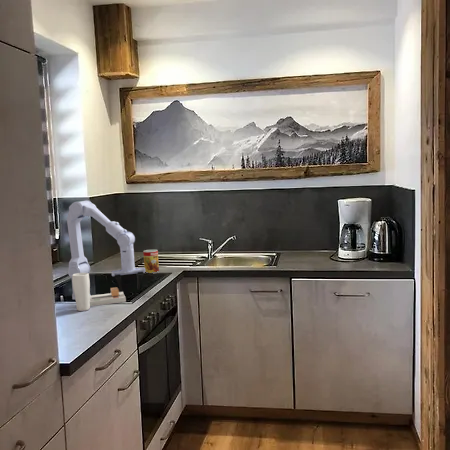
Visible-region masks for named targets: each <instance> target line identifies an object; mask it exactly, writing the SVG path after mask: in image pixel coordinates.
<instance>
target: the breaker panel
mask: <svg viewBox="0 0 450 450" xmlns="http://www.w3.org/2000/svg"><path fill="white" fill-rule="evenodd" d="M117 303H118V304H119V303H127V298H126V296H125V294H124V291H122V292H120V291H119V296H112V295H111V292H110V293H109V292H108V293H104V294H92V295H91V296H90V307H95V306H102V305H109V304H110V305H111V304H117Z"/></svg>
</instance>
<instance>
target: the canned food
mask: <svg viewBox="0 0 450 450" xmlns="http://www.w3.org/2000/svg"><path fill="white" fill-rule="evenodd" d="M142 252H143V266H144V267H143V268H145V272H148V273H152V272H157V271H159V272H160V266H159V265H160V264H159V251H158V249H146V250H145V249H144V250H143V251H142Z"/></svg>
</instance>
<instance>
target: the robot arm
mask: <svg viewBox="0 0 450 450" xmlns="http://www.w3.org/2000/svg"><path fill="white" fill-rule="evenodd" d="M85 217H92V218H93V219H94V220H95V221H97V222H98V223H99V224H101V225H102V226H103V227H105V232H107V234H109V235H110V236H111V237H113V238H114V239H115V240H116V243H117V244H118V246H119V250H120V264H121V269H117V270H112V271H111V276H112V277H114V278H115V280H116V283H117V285H118V287H119V288H118V289H119V292H123V287H122V276H124V275H133V274H136V281H137V286H136V287H137V290H138V291H139V290H141V284H142V283H141V282H142V280H143V278H144V274H146V273H145V268H144V267H136V266H135V250H134V244H135V242H136V237H135V234H134V233H133V232H131V231H128V230H127V229H125V228H123V226H121V225H120V223H119V222H118V221H115V220H114V221H111V219H109V218H108V217H107V216H106V215H105V214H104V213H102V212H101V210H100V209H99V208H97V205H96V204H94V203H92V202H91V200H89V199H85V200H81V201H74V202H72V203H71V204H70V205H69V206H68V214H67V217H66V223H67V232H68V239H69V247H70V253H71V255H70V256H71V258H70V260H69V262H68V269H67V274H68V276H69V277H70V279H71V286H72V287H71V288H72V294H71V297H72V298H71V299H72V300H73V301H74V300H75V294H74V289H73V281H72V275H73V274H76V273H89V274H90V272H91V266H90V264H89V262H88V258H87V257H86V256H85V254H84V244H83V237H82V236H83V235H82V230H81V221H82V220H83V219H84V218H85ZM90 296H92V295H91V294H90Z"/></svg>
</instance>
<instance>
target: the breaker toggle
mask: <svg viewBox="0 0 450 450" xmlns="http://www.w3.org/2000/svg"><path fill="white" fill-rule="evenodd" d="M118 287H119V286H118ZM118 287H116V286H115V287H110V293H111V295H112V296H119V292H120V289H119V288H118Z"/></svg>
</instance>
